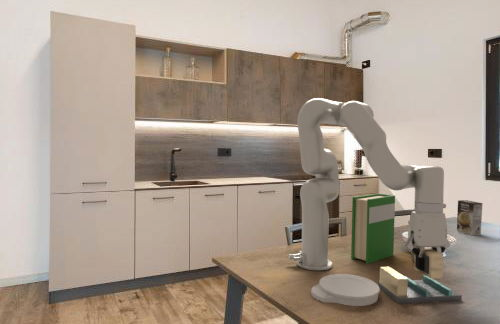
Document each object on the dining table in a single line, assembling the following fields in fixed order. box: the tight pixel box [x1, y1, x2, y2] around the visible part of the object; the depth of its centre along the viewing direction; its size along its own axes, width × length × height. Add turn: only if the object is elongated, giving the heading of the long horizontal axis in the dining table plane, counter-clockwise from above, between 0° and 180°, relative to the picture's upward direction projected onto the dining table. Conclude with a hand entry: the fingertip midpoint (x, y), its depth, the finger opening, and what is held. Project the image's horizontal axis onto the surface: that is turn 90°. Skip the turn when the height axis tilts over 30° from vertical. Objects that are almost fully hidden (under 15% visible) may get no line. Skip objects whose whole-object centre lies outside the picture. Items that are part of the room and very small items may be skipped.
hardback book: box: [350, 193, 396, 265], centre depth 138 cm, size 18×7×24 cm, turn 128°
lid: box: [310, 273, 381, 307], centre depth 103 cm, size 17×20×3 cm
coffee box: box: [456, 199, 483, 236], centre depth 178 cm, size 9×6×16 cm
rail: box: [377, 266, 463, 305], centre depth 104 cm, size 19×12×6 cm, turn 98°
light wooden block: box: [413, 247, 444, 280], centre depth 104 cm, size 8×4×7 cm, turn 7°
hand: (427, 268), depth 104 cm, fingers closed on light wooden block, 3 cm apart
